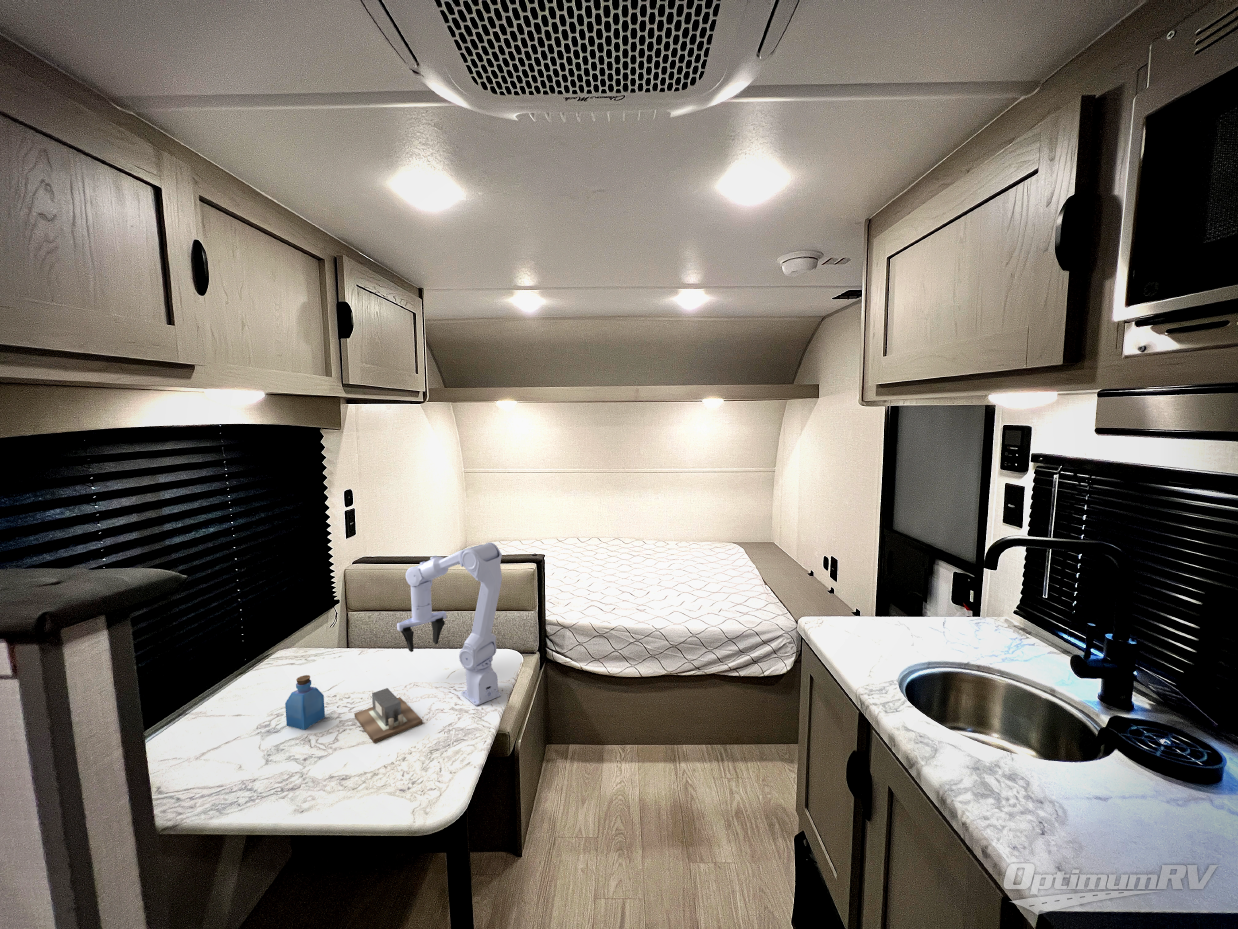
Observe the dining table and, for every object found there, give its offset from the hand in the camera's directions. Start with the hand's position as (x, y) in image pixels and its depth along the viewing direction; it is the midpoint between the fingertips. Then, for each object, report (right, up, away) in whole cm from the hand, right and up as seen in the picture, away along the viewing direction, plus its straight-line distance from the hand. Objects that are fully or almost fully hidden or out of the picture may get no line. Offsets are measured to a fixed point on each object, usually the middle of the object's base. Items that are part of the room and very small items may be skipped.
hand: (423, 647), depth 157 cm
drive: (-2, -11, -21) cm, 24 cm away
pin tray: (-1, -12, -21) cm, 24 cm away
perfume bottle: (-23, -13, -21) cm, 34 cm away
